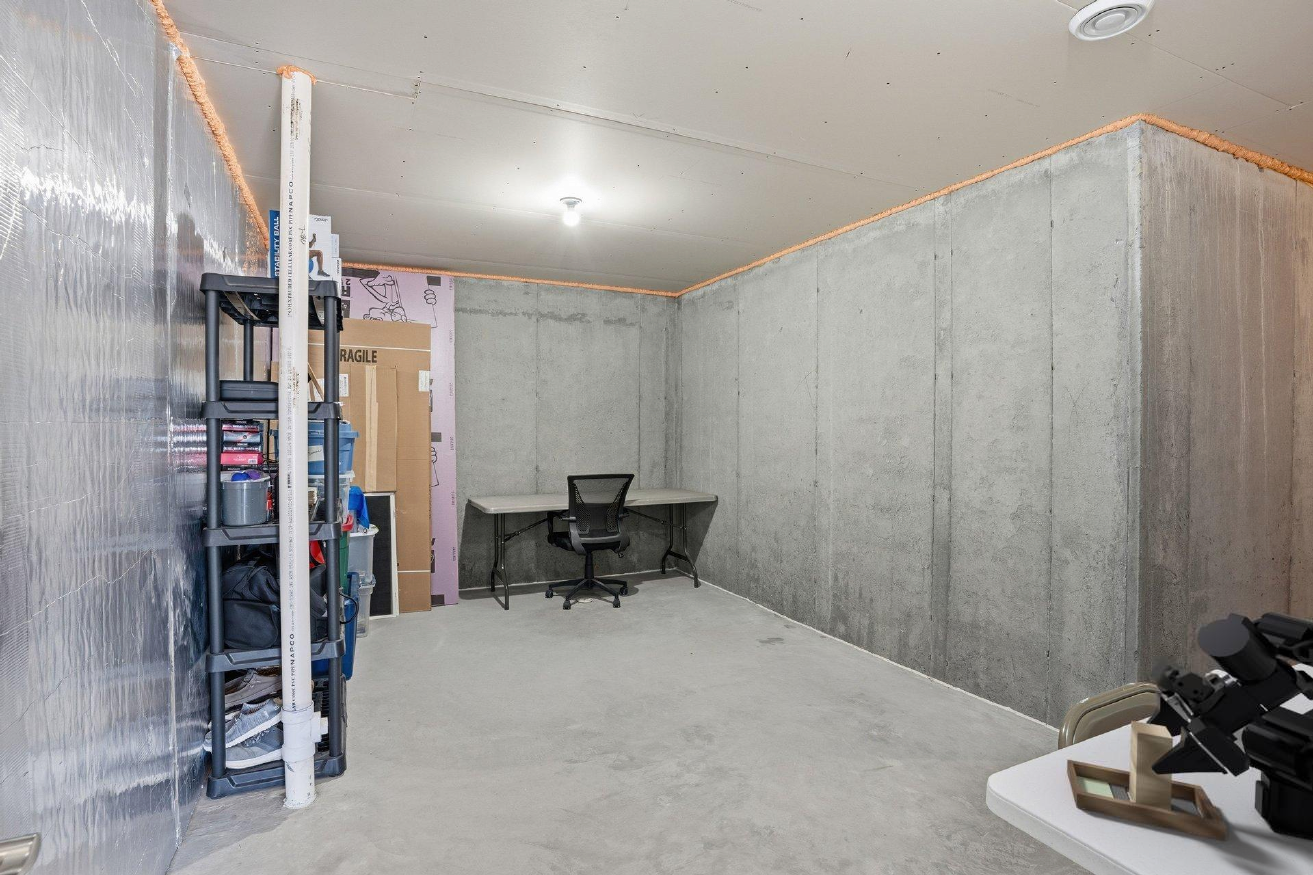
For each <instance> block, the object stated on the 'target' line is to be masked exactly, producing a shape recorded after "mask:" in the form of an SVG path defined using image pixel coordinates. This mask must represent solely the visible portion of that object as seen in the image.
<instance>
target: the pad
mask: <svg viewBox="0 0 1313 875" xmlns="http://www.w3.org/2000/svg"><path fill="white" fill-rule="evenodd" d="M1077 779H1078V783H1079V786H1080V789H1081V791H1083V792H1088V793H1092V794H1097V795H1102V796H1106V797H1111V798H1115V796H1114V794H1113V791H1112V788H1111V786H1110V784H1108V782H1104V781H1099V780H1094V779H1089V778H1085V777H1080V776H1077Z"/></svg>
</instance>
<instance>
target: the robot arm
mask: <svg viewBox="0 0 1313 875" xmlns="http://www.w3.org/2000/svg"><path fill="white" fill-rule="evenodd" d="M1196 641H1197V645H1198V647H1199V648H1200V649H1201V650H1202V651H1203V653H1205V654H1206V655H1207V656H1208V657H1209V658H1210V659H1212V660H1213V662H1214V663H1216V665H1218V666H1219V667H1220V668H1221V669H1222V671H1224V672H1226V673H1228V674H1229V675H1230V676H1231V677H1232V678H1233V679H1234V680H1233V679H1232V678H1231V677H1230V676H1229V675H1228V674H1227V675H1225V676H1223V677H1222V678H1220V677H1219V676H1218V675H1217V674H1215V675H1214V674H1210V675H1208V676H1207V677H1206V676H1205V677H1203V676H1202V675H1201V674H1200V673H1198V672H1197V673H1195V672H1193V671H1192V670H1191V669H1189V668H1188V667H1187V668H1186V667H1184V666H1182V665H1180V664H1178V663H1176V662H1174V661H1172V660H1170V659H1169V658H1166V657H1165V656H1161V657H1160V658H1159V660H1158V661H1157V663H1156V664H1155V666H1154V667H1153V669H1152V670H1151V672H1150V673H1149V676H1150V677H1152V678H1153V679H1154V682H1155V684H1156V687H1157V689H1158V690H1159V691H1158V690H1156V691H1155V697H1156V708H1155V710H1154V711H1153V713H1152V714H1151V716H1150V717H1149V718H1148V720H1147V721H1146V722H1145V723H1147V724H1153V725H1159V726H1165V727H1166V728H1167V730H1168V732H1169V733H1170V735H1171V736H1172V738H1174V737H1178V736H1180V741H1178V743H1177V744H1175V745H1173V748H1172V749H1170V750H1169V751H1168V752H1167V753H1166V754H1164V755H1163V756H1162V757H1161V758H1160V759H1158V760H1157V761H1156V762H1155V763H1154V764H1153V765H1152V766H1151V768H1152V770H1153V771H1154V772H1155V773H1156V774H1158V775H1161V774H1172V775H1175V774H1176V775H1178V774H1194V773H1195V774H1197V773H1199V774H1200V773H1203V774H1204V773H1207V774H1208V773H1210V774H1211V773H1212V774H1213V773H1221V774H1223V776H1226V775H1228V774H1229V773H1231V775H1233V776H1234V777H1238V776H1240V775H1242V774H1244V773H1245V772H1247V771H1249V770H1250V768H1252V769H1256V770H1258V771H1260V780H1259V779H1256V780H1255V788H1254V789H1255V791H1254V806H1253V807H1254V809H1255V810H1256V812H1257V813H1258V814H1259V815H1260V817H1261V818H1262V819H1263V820H1264V822H1265V823H1266V825H1267V826H1268V827H1269V829H1270V830H1272V831H1274V832H1276V833H1281V834H1286V835H1291V836H1295V837H1300V838H1305V839H1309V840H1313V708H1312V709H1309V710H1308V711H1306V712H1304V713H1299V712H1297V711H1294V710H1291V709H1290V708H1286V707H1284V706H1282V705H1284V704H1285V703H1287V702H1289V701H1290V700H1292V699H1294V698H1296V697H1297V696H1299V695H1300V694H1302V695H1303V696H1304V697H1305V698H1306V699H1308V700H1309V701H1313V677H1312V676H1311V675H1310V674H1309V673H1307V672H1306V671H1305V670H1303V669H1301V670H1299V669H1295V668H1294V667H1293V666H1292V665H1291V664H1290V663H1288V662H1287V661H1286V660H1289V661H1292V662H1295V663H1298V664H1300V665H1305V666H1308V667H1311V668H1313V620H1311V619H1306V618H1302V617H1297V616H1294V615H1289V614H1284V613H1280V612H1275V611H1268V612H1265V613H1263V614H1261V615H1260V618H1257V619H1255V620H1251V619H1250V618H1249V617H1248V616H1245V615H1241V614H1238V613H1234V612H1230V613H1229V614H1228V616H1227V618H1222V619H1217V620H1214V621H1212V622H1209V623H1207V624H1206V625H1204V626H1202V627H1201V628H1200V629H1199V631H1198V632H1197V637H1196ZM1282 658H1283V659H1282ZM1284 659H1286V660H1284ZM1235 680H1236V681H1235ZM1160 692H1161V693H1160ZM1189 720H1190V721H1189ZM1245 726H1246V727H1245ZM1243 727H1245V728H1244V729H1243V732H1242V735H1241V739H1242V744H1243V747H1244V751H1245V753H1244V752H1243V751H1242V750H1241V748H1240V747H1239V746H1238V745H1237V744H1236V743H1235V742H1234V741H1236V740H1238V739H1237V738H1236V737H1235V735H1234V734H1233V733H1235V732H1237V731H1238V730H1240V729H1242V728H1243ZM1227 770H1228V771H1229V772H1228V771H1227Z"/></svg>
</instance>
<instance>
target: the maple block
mask: <svg viewBox="0 0 1313 875" xmlns="http://www.w3.org/2000/svg"><path fill="white" fill-rule="evenodd" d="M1130 723H1131V724H1130V725H1131V726H1130V753H1129V754H1130V757H1129V758H1130V760H1129V772H1130V784H1129V788H1128V790H1129V791H1128V792H1129V793H1128V796H1129V799H1130V800H1131V801H1130V802H1134V803H1139V804H1143V805H1148V806H1153V807H1157V808H1162V809H1167V810H1171V784H1172V778H1173V774H1161V775H1158V774H1156V773H1155V772H1154V771H1153V770H1152V768H1151V766H1152V765H1153V764H1154V763H1155V762H1156V761H1157V760H1158V759H1160V758H1161V757H1162V756H1163V755H1164V754H1166V753H1167V752H1168V751H1169V750H1170V749H1172V748H1173V747H1174V745H1173V744H1174V737H1172V736H1171V735H1170V733H1169V732H1168V730H1167V728H1166V727H1165V726H1159V725H1153V724H1147V723H1146V722H1141V721H1136V720H1131V722H1130ZM1171 811H1172V810H1171Z"/></svg>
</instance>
